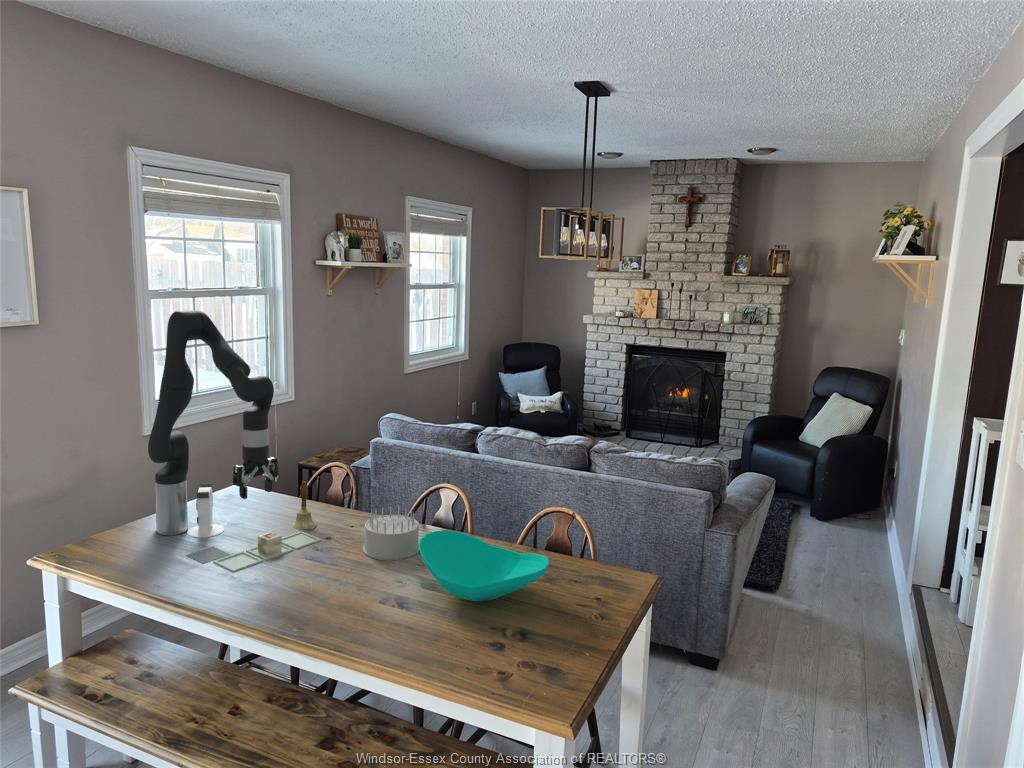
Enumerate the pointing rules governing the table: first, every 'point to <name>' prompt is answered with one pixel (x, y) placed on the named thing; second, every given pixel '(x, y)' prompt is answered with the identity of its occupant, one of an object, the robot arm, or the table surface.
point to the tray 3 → (299, 540)
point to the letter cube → (269, 543)
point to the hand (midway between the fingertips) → (256, 494)
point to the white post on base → (205, 514)
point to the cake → (391, 536)
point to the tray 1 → (238, 561)
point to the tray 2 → (266, 557)
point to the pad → (208, 555)
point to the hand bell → (304, 512)
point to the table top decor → (478, 566)
